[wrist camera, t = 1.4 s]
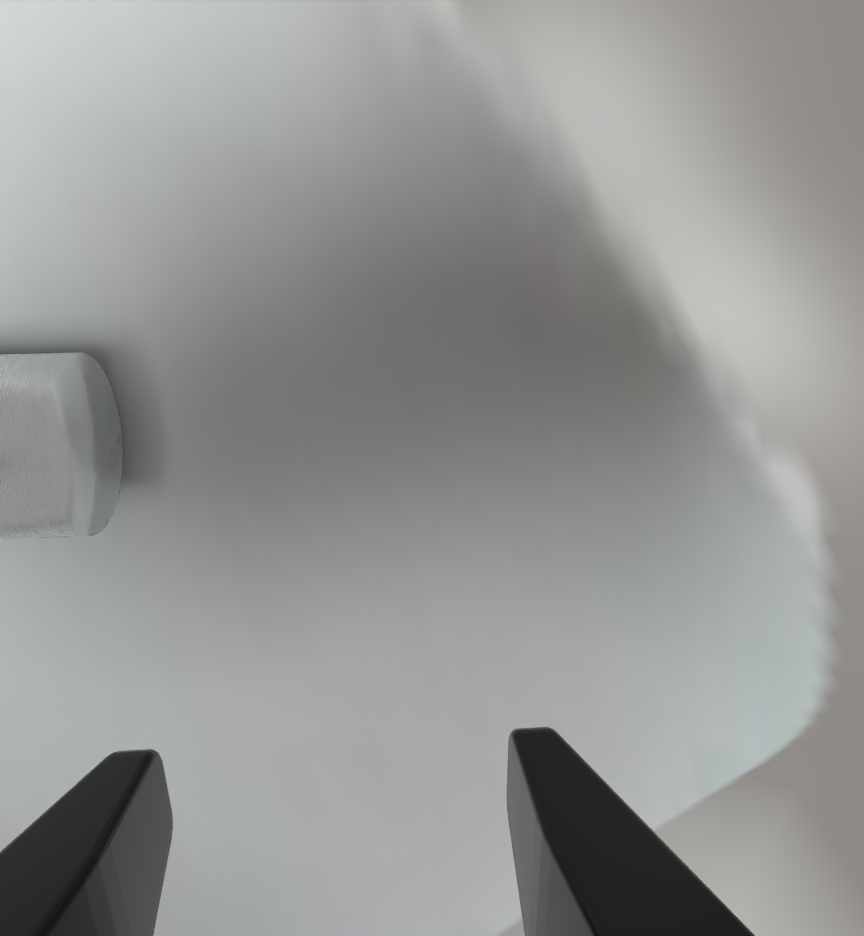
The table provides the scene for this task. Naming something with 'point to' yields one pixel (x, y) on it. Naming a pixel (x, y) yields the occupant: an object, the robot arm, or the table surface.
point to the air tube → (57, 446)
